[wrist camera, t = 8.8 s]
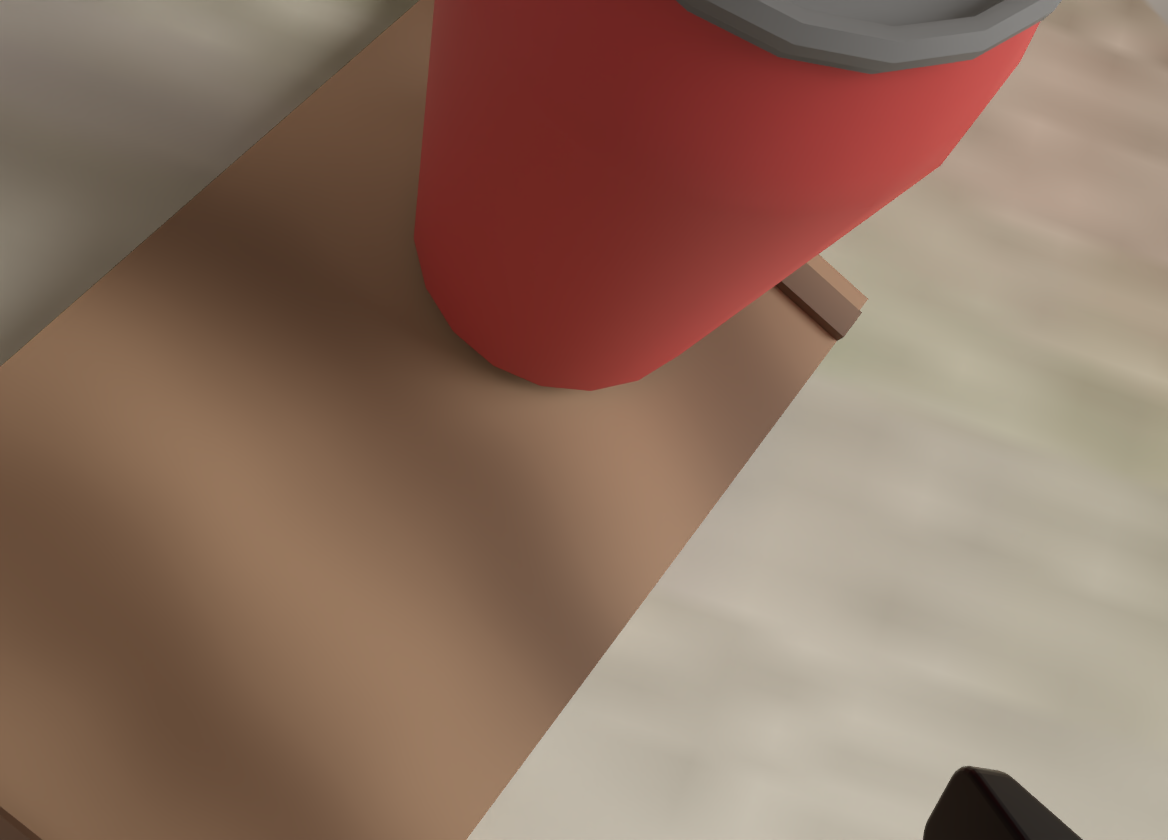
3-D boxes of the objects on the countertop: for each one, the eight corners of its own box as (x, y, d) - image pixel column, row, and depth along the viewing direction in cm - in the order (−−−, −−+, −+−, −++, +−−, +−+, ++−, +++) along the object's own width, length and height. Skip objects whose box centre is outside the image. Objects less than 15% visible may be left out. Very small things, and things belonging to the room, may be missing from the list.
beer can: (556, 461, 18) (852, 276, 7) (345, 216, 18) (275, -403, 7) (771, 272, 20) (1299, -132, 8) (580, 49, 20) (851, -673, 8)
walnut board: (257, 1085, 16) (247, 1142, 14) (-280, 662, 15) (-359, 668, 14) (835, 318, 22) (875, 294, 21) (471, -9, 22) (481, -62, 20)
